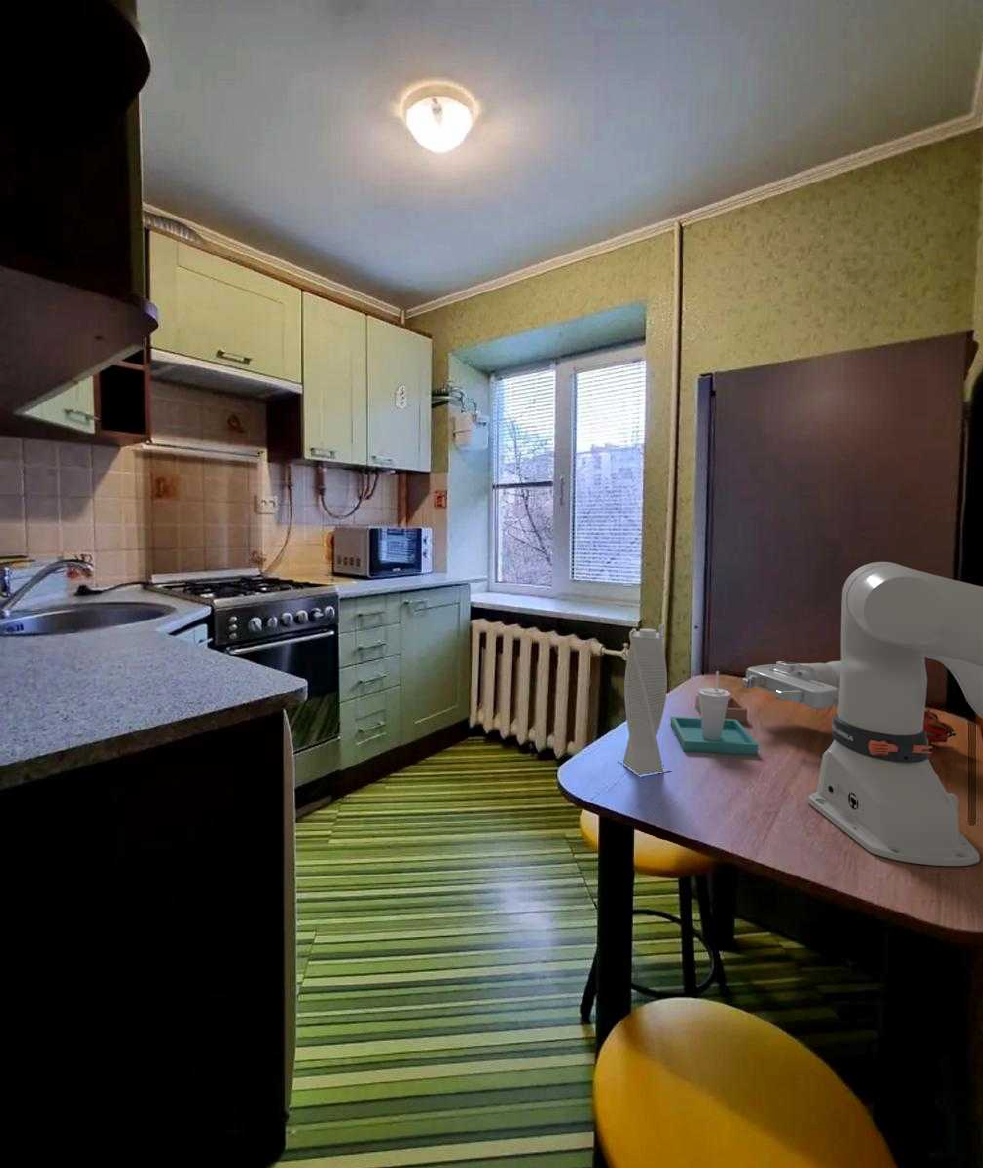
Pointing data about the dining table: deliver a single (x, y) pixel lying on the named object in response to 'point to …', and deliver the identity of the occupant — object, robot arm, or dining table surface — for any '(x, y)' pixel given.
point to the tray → (730, 742)
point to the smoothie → (713, 710)
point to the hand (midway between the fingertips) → (760, 689)
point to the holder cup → (730, 710)
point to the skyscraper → (644, 699)
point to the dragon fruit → (936, 728)
